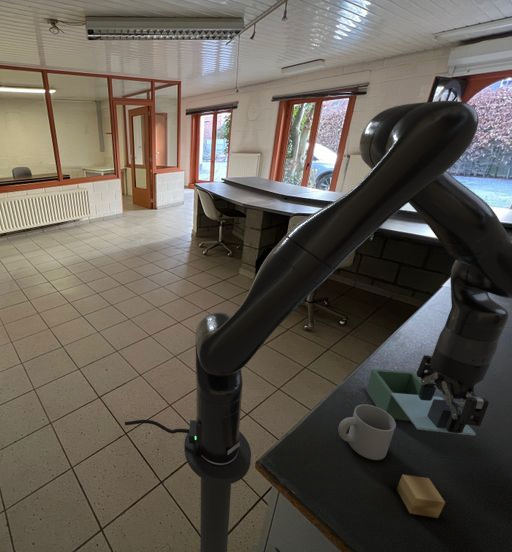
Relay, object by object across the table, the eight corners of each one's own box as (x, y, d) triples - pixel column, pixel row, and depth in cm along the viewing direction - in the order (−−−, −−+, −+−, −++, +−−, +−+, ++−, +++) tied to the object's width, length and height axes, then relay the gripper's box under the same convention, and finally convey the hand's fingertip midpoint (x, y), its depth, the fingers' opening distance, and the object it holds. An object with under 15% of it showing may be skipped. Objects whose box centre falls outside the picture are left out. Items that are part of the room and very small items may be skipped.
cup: (393, 463, 63) (404, 433, 60) (341, 457, 65) (349, 427, 62) (375, 434, 70) (384, 405, 67) (329, 430, 72) (335, 401, 69)
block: (409, 513, 55) (416, 498, 53) (396, 489, 59) (402, 474, 57) (438, 518, 54) (445, 502, 52) (422, 493, 58) (428, 478, 56)
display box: (384, 418, 74) (391, 394, 71) (366, 390, 83) (371, 368, 80) (429, 422, 72) (438, 399, 69) (405, 394, 81) (413, 371, 78)
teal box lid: (417, 429, 62) (424, 409, 60) (391, 394, 71) (396, 376, 69) (475, 435, 60) (484, 415, 58) (440, 398, 69) (447, 380, 67)
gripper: (417, 330, 64) (398, 388, 70) (468, 374, 51) (440, 441, 57) (458, 332, 63) (435, 392, 69) (522, 378, 50) (487, 446, 56)
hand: (437, 414), depth 63 cm, fingers open, 8 cm apart
